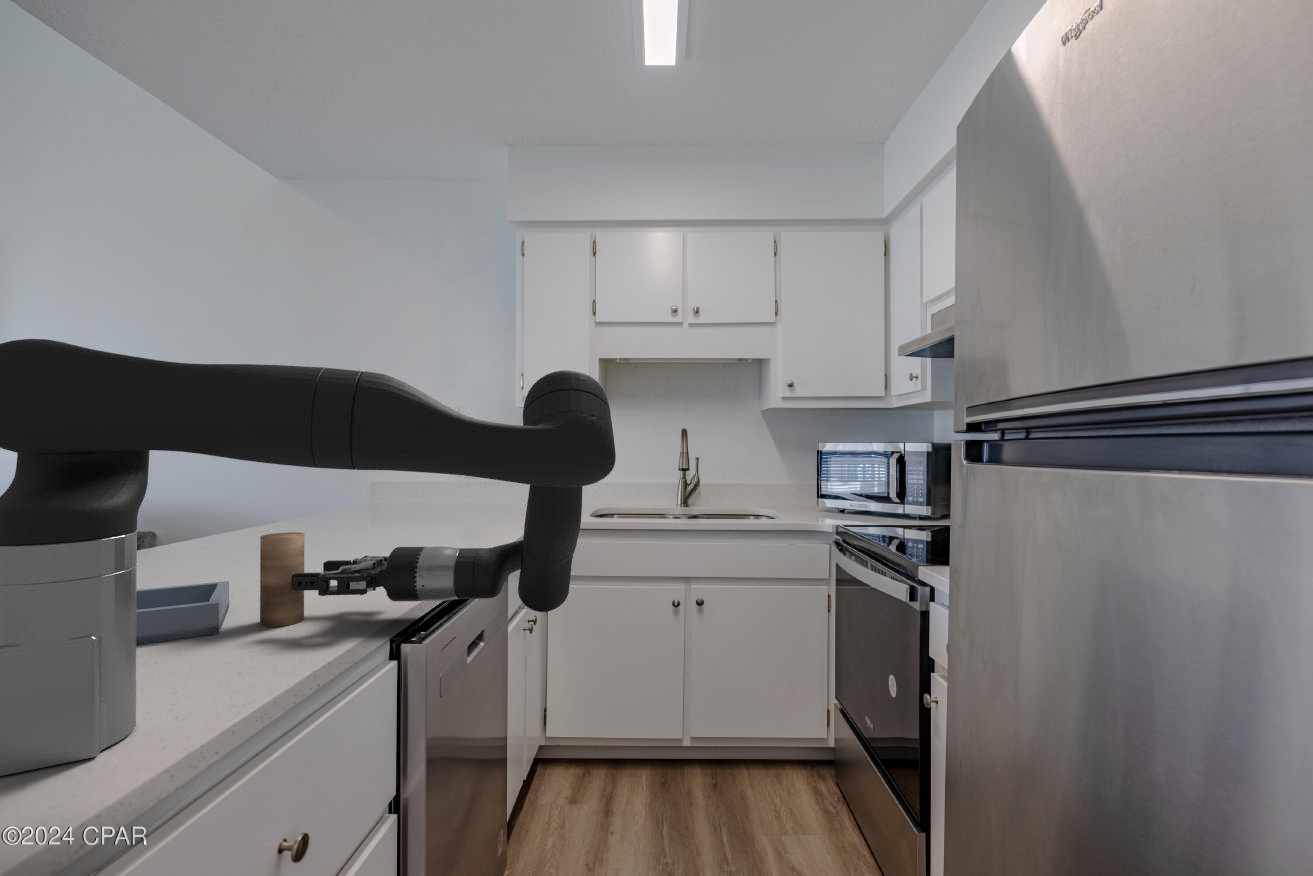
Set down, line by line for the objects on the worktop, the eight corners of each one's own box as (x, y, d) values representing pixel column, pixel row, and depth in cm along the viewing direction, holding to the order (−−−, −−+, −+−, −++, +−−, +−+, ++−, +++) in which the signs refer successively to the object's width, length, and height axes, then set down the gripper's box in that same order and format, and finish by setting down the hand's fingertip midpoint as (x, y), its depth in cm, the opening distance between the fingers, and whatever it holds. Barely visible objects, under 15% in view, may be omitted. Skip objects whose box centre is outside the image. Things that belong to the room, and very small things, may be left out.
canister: (304, 623, 83) (304, 536, 83) (258, 629, 80) (259, 539, 80) (303, 614, 87) (304, 531, 87) (260, 619, 85) (261, 534, 85)
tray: (218, 633, 78) (218, 602, 78) (72, 653, 71) (72, 619, 71) (229, 607, 90) (229, 580, 90) (105, 621, 83) (105, 592, 83)
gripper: (409, 614, 78) (280, 616, 77) (442, 588, 92) (333, 589, 91) (410, 556, 78) (280, 557, 77) (443, 539, 92) (334, 539, 91)
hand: (309, 574), depth 84 cm, fingers open, 8 cm apart
